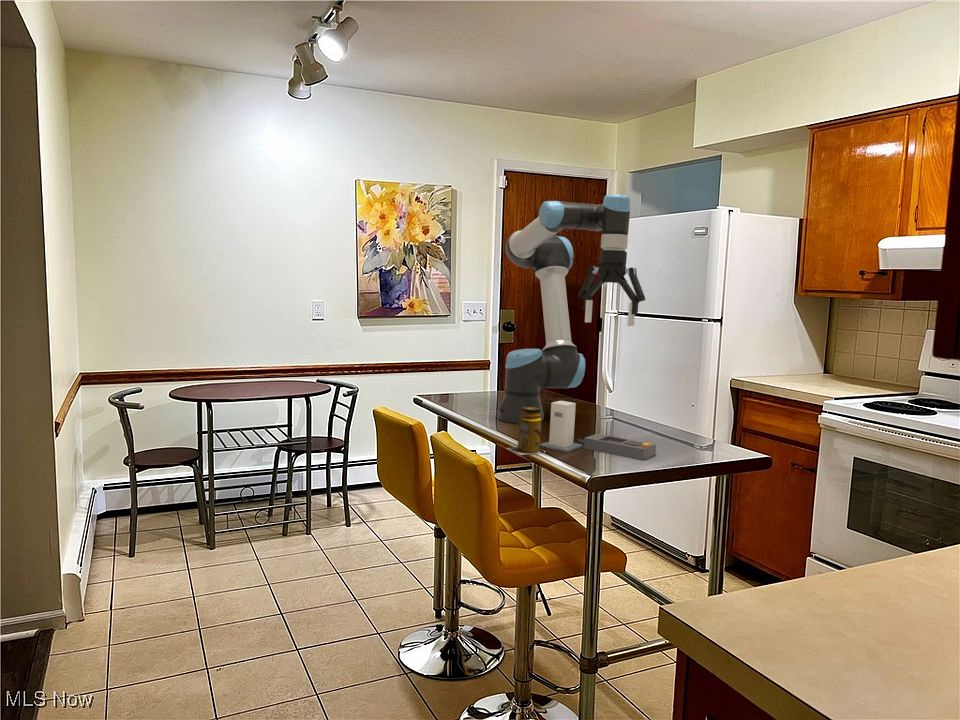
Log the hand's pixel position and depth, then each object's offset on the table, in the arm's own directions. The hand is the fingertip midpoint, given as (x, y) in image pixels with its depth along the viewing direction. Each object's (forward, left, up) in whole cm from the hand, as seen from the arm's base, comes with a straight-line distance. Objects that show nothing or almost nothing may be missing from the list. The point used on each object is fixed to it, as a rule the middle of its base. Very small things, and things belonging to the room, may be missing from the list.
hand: (608, 324), depth 207 cm
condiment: (+24, -14, -35) cm, 45 cm away
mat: (+14, -8, -35) cm, 38 cm away
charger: (+14, -8, -34) cm, 37 cm away
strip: (+9, +6, -35) cm, 36 cm away
